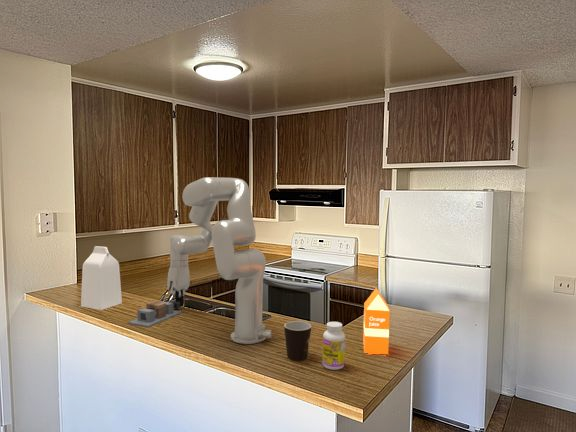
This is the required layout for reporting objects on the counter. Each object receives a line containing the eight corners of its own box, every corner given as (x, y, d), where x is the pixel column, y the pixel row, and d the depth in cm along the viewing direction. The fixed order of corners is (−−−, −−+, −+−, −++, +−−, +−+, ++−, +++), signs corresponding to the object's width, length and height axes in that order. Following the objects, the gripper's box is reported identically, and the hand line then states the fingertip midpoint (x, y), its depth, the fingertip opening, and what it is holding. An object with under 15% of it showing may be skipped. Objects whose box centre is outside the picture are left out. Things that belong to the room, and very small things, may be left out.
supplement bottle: (318, 366, 122) (319, 324, 121) (328, 359, 128) (329, 319, 127) (338, 372, 119) (339, 329, 118) (348, 364, 124) (349, 323, 123)
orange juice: (363, 354, 132) (365, 293, 131) (362, 343, 141) (364, 286, 140) (388, 355, 131) (390, 294, 130) (385, 345, 140) (387, 287, 139)
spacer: (165, 316, 165) (165, 303, 165) (159, 319, 162) (158, 305, 161) (153, 314, 168) (153, 301, 168) (146, 316, 164) (146, 303, 164)
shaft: (180, 307, 176) (180, 301, 176) (155, 317, 162) (155, 310, 162) (172, 306, 177) (172, 300, 177) (147, 316, 163) (147, 309, 163)
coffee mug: (300, 364, 124) (301, 332, 123) (278, 357, 129) (278, 326, 128) (321, 352, 133) (321, 322, 132) (299, 346, 138) (300, 317, 137)
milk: (80, 306, 179) (79, 247, 177) (102, 299, 190) (101, 244, 188) (101, 310, 174) (100, 249, 173) (121, 303, 185) (121, 246, 183)
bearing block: (181, 312, 172) (181, 301, 172) (148, 327, 154) (148, 315, 154) (162, 309, 176) (162, 298, 176) (127, 323, 158) (127, 311, 157)
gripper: (183, 260, 185) (183, 299, 187) (160, 265, 172) (160, 308, 173) (196, 261, 182) (196, 302, 184) (175, 267, 169) (175, 310, 170)
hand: (179, 305), depth 178 cm, fingers closed
